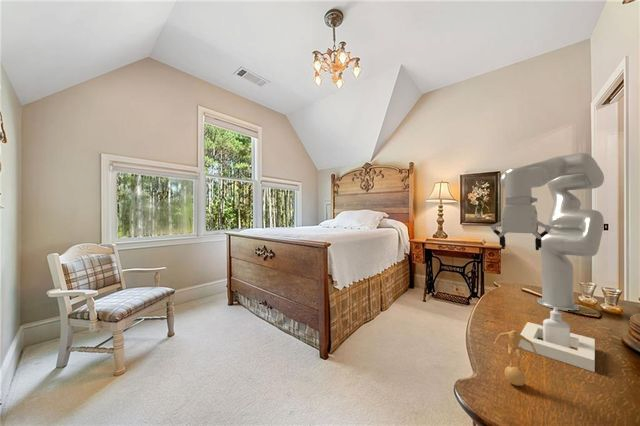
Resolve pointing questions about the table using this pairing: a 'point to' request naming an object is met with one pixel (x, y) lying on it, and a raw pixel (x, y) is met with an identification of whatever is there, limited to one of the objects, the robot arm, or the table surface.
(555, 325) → the eye dropper bottle
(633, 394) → the table surface
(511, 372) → the figurine
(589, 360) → the cream square frame
